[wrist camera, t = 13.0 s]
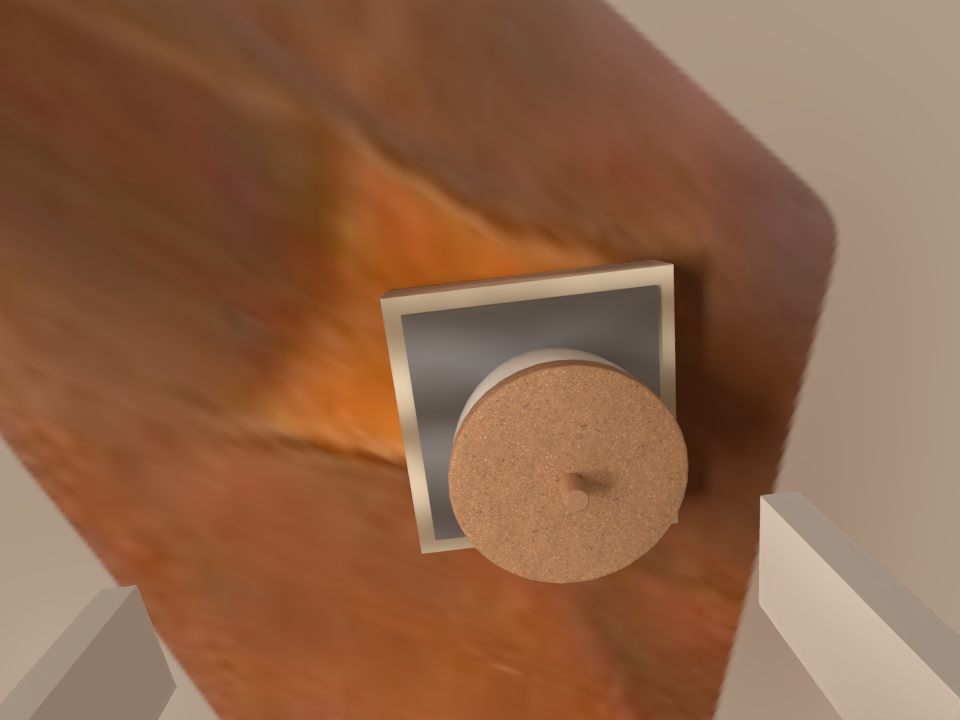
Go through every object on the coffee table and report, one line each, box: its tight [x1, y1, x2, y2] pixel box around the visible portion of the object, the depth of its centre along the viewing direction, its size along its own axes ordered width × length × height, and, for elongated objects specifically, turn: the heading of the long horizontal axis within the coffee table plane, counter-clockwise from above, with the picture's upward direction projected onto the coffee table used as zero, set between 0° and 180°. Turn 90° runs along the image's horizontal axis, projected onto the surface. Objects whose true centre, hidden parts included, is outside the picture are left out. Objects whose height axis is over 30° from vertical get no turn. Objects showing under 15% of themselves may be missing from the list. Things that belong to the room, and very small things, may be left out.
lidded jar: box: [448, 348, 688, 583], centre depth 27 cm, size 11×11×9 cm
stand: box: [380, 259, 678, 553], centre depth 34 cm, size 16×16×3 cm
